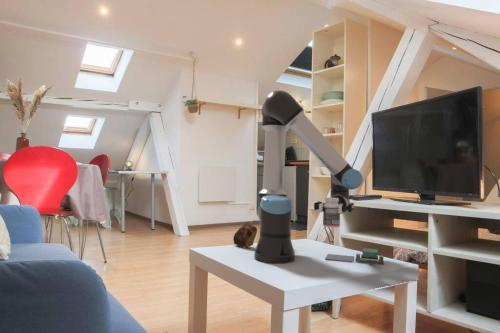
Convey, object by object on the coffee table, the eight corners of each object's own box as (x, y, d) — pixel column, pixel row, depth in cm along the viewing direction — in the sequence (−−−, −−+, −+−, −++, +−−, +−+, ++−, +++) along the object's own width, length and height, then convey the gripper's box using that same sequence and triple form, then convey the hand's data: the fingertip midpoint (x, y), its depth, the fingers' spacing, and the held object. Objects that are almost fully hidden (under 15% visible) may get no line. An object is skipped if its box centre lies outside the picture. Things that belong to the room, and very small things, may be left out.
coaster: (325, 259, 142) (325, 258, 142) (327, 254, 151) (327, 253, 151) (352, 262, 139) (352, 261, 139) (353, 257, 148) (353, 256, 148)
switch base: (355, 262, 139) (355, 255, 139) (355, 259, 143) (355, 253, 143) (383, 264, 136) (384, 257, 136) (383, 262, 140) (383, 255, 140)
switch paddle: (361, 258, 141) (360, 251, 131) (361, 254, 142) (361, 247, 131) (378, 259, 139) (379, 253, 129) (378, 256, 140) (379, 248, 130)
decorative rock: (257, 248, 161) (258, 223, 161) (246, 249, 157) (247, 224, 157) (241, 244, 170) (242, 220, 171) (230, 245, 167) (231, 220, 167)
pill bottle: (325, 225, 133) (325, 197, 133) (341, 226, 131) (341, 197, 131) (321, 226, 128) (321, 197, 128) (338, 228, 126) (338, 198, 126)
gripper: (361, 215, 143) (358, 221, 121) (313, 212, 149) (301, 218, 128) (362, 195, 144) (359, 198, 122) (313, 194, 150) (302, 196, 128)
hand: (329, 208), depth 125 cm, fingers closed on pill bottle, 6 cm apart
